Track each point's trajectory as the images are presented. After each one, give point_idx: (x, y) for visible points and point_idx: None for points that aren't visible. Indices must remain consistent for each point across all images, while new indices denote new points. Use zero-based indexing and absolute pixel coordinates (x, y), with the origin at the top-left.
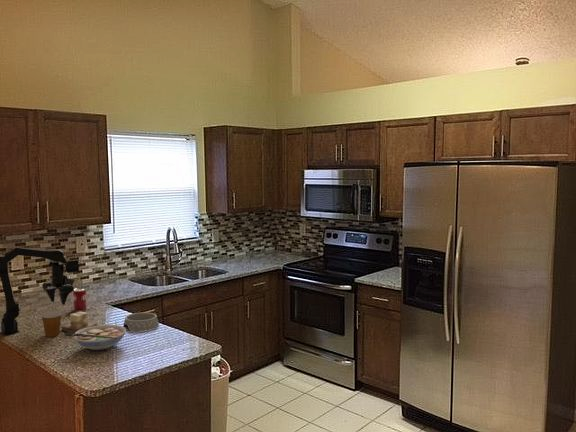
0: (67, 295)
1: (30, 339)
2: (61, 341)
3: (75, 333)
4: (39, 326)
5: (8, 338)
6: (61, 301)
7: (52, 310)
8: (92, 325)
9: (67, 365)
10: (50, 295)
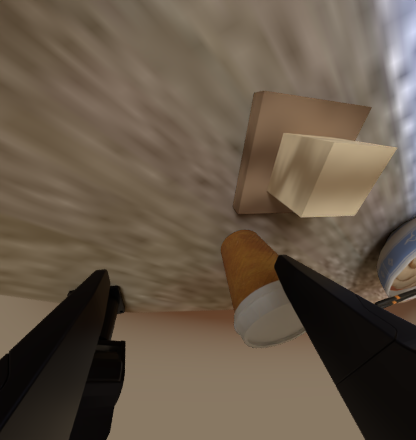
0: (410, 330)
1: (213, 287)
2: (298, 256)
3: (397, 298)
4: (103, 223)
5: (154, 310)
6: (292, 301)
7: (270, 315)
8: (355, 138)
9: (363, 294)
10: (76, 395)
